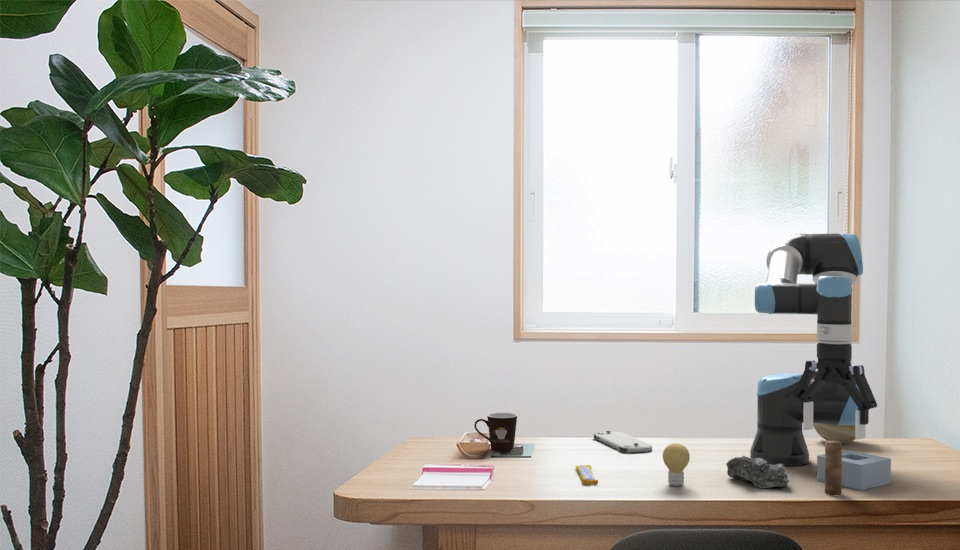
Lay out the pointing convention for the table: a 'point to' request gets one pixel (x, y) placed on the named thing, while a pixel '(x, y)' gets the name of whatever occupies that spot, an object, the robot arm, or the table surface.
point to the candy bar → (586, 474)
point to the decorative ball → (836, 432)
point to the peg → (833, 467)
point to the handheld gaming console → (623, 442)
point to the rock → (757, 472)
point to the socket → (859, 470)
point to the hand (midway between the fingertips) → (833, 434)
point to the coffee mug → (500, 431)
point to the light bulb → (676, 462)
